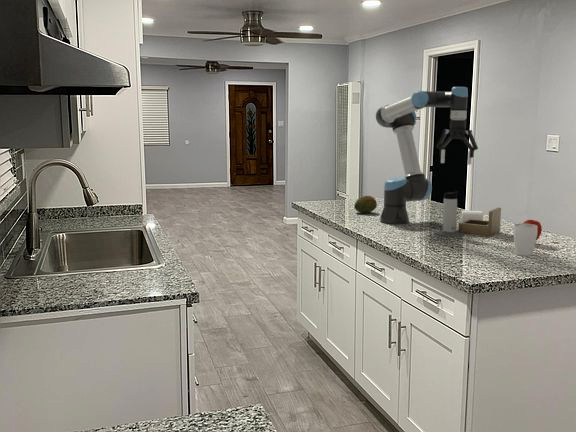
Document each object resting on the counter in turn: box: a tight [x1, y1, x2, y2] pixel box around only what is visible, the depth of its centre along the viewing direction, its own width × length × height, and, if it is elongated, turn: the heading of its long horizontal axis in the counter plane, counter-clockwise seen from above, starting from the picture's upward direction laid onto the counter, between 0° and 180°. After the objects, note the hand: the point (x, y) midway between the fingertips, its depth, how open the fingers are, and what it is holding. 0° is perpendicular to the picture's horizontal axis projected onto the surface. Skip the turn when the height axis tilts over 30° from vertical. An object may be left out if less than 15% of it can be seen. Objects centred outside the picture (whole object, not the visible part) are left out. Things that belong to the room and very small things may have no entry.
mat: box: [433, 229, 466, 238], centre depth 278 cm, size 14×14×1 cm
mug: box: [460, 210, 484, 222], centre depth 299 cm, size 12×10×8 cm
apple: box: [522, 219, 543, 241], centre depth 255 cm, size 9×8×11 cm
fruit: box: [353, 195, 378, 214], centre depth 339 cm, size 12×13×10 cm
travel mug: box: [442, 190, 459, 234], centre depth 276 cm, size 6×7×20 cm
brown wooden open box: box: [458, 207, 502, 238], centre depth 279 cm, size 16×14×12 cm
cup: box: [513, 223, 537, 257], centre depth 235 cm, size 9×9×12 cm
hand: (455, 163), depth 282 cm, fingers open, 13 cm apart
